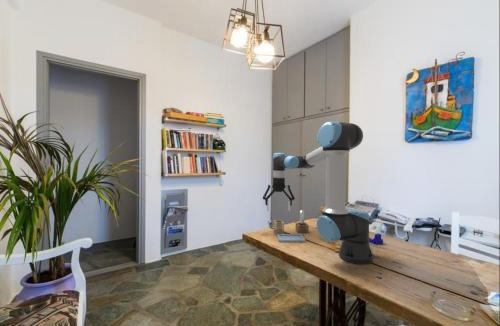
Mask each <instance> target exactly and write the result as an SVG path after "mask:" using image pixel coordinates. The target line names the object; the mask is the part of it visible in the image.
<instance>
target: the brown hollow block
mask: <svg viewBox="0 0 500 326" xmlns="http://www.w3.org/2000/svg"><path fill="white" fill-rule="evenodd" d="M309 228H310V226H309V224H307V222H304V225H300V222H295V231H296V234H309Z"/></svg>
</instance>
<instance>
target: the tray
mask: <svg viewBox="0 0 500 326" xmlns="http://www.w3.org/2000/svg"><path fill="white" fill-rule="evenodd" d="M276 238H277V239H278V243H306V242H307V241H306V239H305V236H303V234H302V233H294V234H293V233H291V234H290V233H289V234H288V233H284V234H277V235H276Z"/></svg>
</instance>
